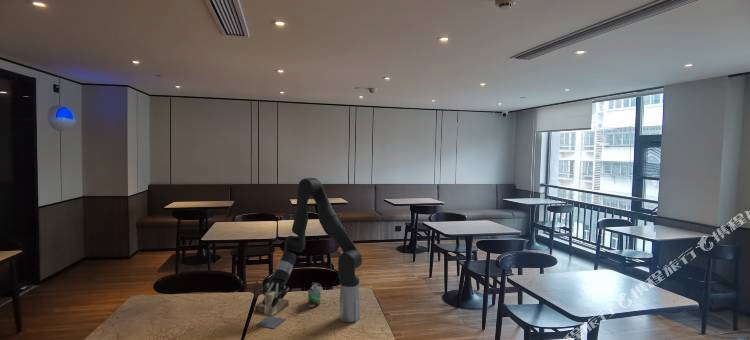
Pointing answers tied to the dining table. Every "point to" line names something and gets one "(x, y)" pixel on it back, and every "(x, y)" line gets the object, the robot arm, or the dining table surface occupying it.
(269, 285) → the robot arm
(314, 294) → the food container
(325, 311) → the dining table surface
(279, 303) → the walnut eye block
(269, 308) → the beech peg
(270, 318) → the blue-grey square plate
